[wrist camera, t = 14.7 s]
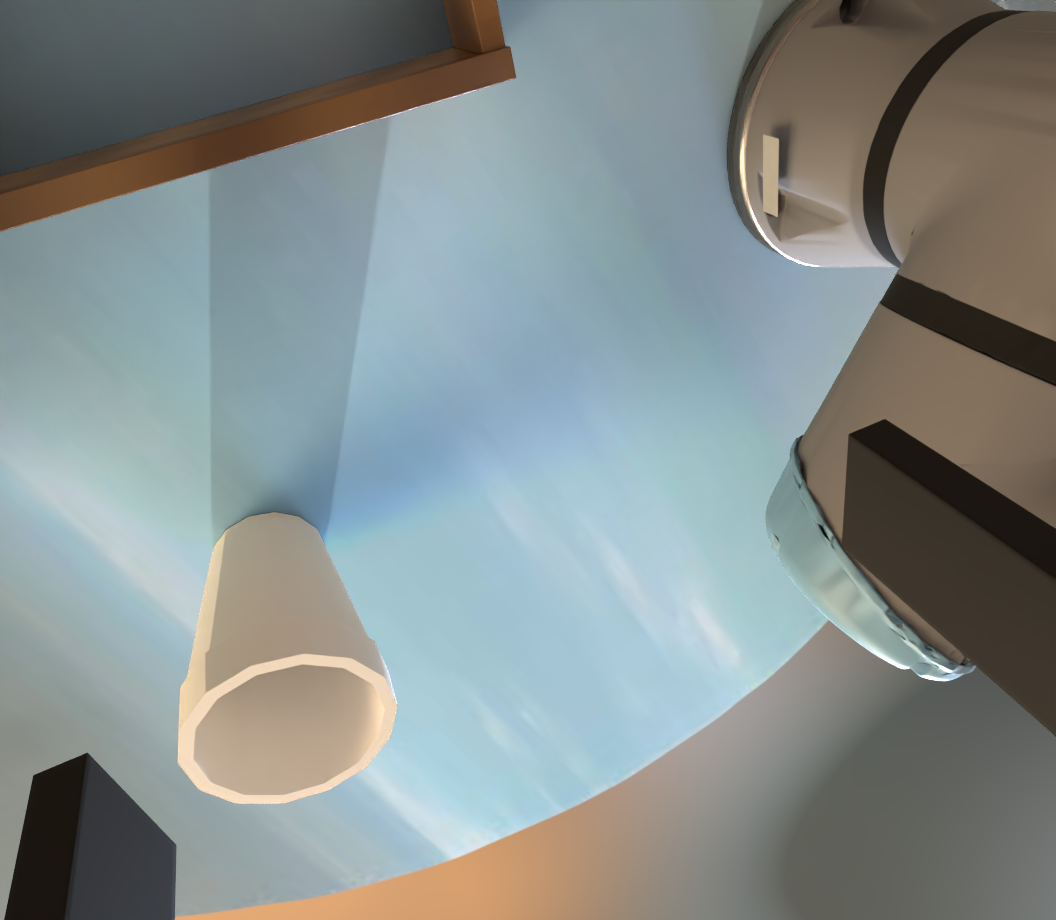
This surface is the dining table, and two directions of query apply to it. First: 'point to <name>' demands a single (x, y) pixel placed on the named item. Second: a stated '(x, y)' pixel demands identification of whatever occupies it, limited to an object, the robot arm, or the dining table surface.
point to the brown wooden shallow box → (266, 123)
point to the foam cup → (279, 671)
